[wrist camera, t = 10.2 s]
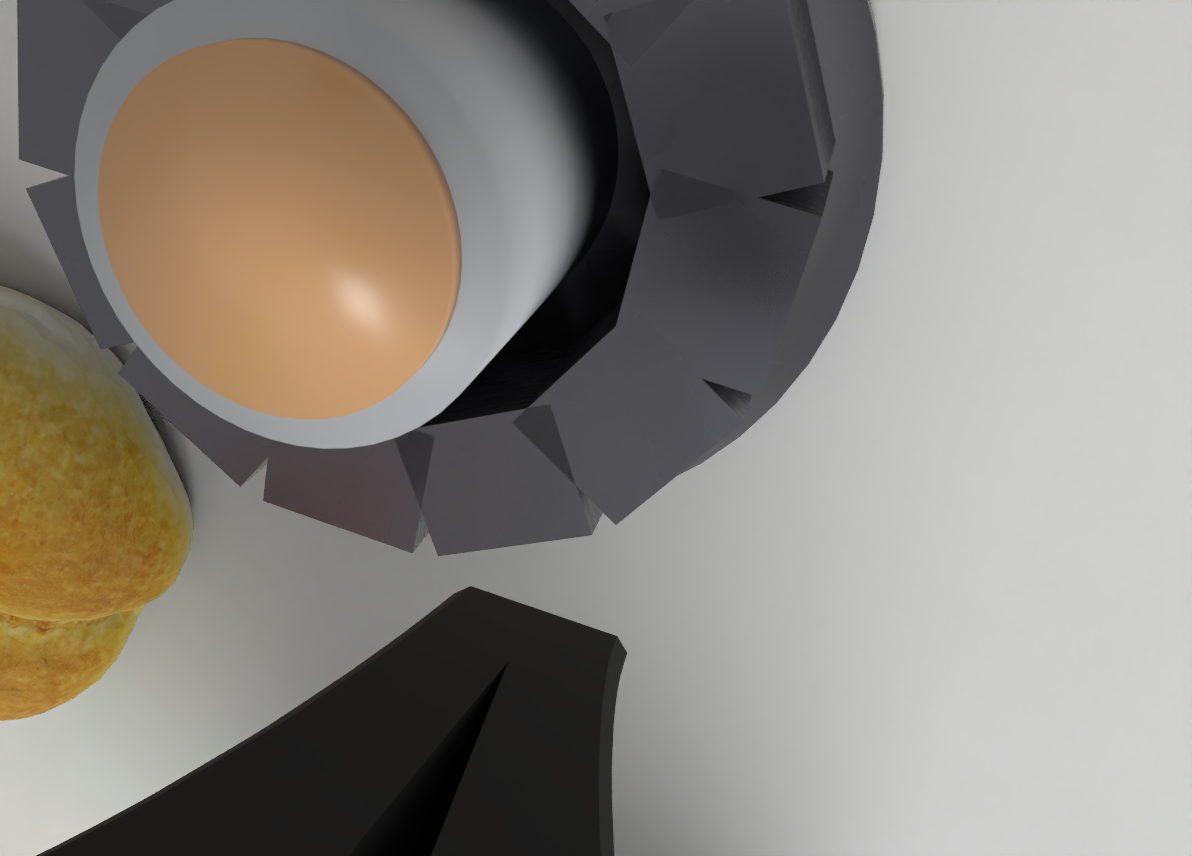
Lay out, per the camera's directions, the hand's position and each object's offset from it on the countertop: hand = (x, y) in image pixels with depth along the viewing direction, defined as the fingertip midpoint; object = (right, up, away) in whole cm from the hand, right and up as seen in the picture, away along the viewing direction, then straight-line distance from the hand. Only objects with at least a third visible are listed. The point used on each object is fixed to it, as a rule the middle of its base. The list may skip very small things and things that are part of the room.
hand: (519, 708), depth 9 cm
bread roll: (-11, +1, +13) cm, 17 cm away
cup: (-1, +6, +7) cm, 10 cm away
